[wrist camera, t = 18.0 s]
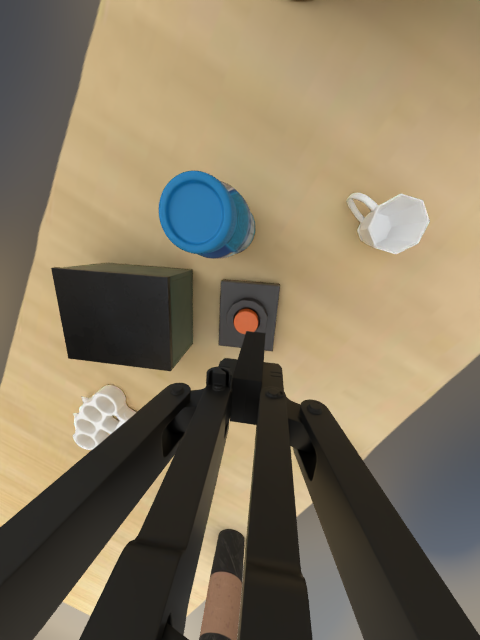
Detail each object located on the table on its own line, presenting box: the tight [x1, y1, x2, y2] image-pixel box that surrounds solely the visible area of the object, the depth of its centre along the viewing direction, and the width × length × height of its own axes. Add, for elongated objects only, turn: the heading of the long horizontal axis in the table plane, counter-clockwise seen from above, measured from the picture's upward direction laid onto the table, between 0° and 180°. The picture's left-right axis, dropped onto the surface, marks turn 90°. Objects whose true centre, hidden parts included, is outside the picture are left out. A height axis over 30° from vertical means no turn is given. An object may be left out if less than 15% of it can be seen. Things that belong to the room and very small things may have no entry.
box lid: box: [51, 267, 173, 371], centre depth 35 cm, size 18×15×1 cm
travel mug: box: [199, 529, 244, 640], centre depth 53 cm, size 8×8×20 cm
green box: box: [63, 263, 193, 368], centre depth 40 cm, size 17×15×10 cm
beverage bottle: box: [159, 171, 255, 258], centre depth 29 cm, size 8×8×20 cm
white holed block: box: [73, 385, 136, 450], centre depth 53 cm, size 3×18×15 cm
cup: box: [346, 193, 430, 254], centre depth 32 cm, size 7×10×8 cm
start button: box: [234, 309, 259, 334], centre depth 39 cm, size 4×4×2 cm
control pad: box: [219, 279, 280, 351], centre depth 41 cm, size 12×10×4 cm
